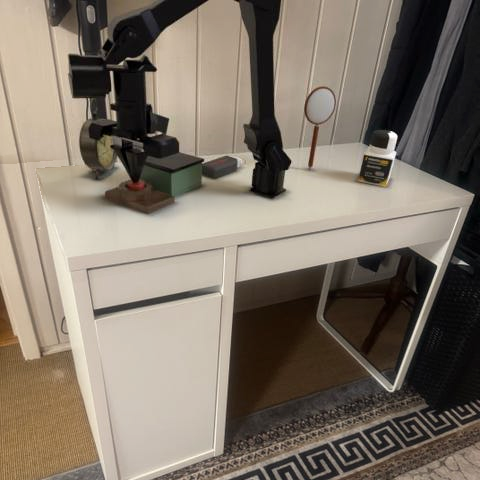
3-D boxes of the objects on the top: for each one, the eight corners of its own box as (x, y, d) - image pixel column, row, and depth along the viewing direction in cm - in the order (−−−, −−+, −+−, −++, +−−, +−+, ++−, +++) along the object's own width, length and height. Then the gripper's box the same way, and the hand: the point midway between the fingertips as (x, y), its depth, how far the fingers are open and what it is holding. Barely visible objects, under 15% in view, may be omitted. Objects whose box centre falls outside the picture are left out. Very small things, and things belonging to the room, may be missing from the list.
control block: (174, 203, 97) (174, 186, 95) (147, 214, 92) (146, 197, 90) (132, 188, 102) (131, 172, 100) (104, 198, 97) (102, 182, 94)
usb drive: (197, 173, 113) (198, 162, 112) (227, 163, 121) (228, 152, 120) (214, 179, 111) (214, 167, 109) (243, 168, 119) (244, 157, 117)
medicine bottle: (357, 181, 117) (368, 132, 110) (362, 173, 123) (373, 126, 116) (385, 187, 116) (399, 137, 109) (389, 179, 121) (402, 131, 114)
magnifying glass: (321, 167, 124) (336, 85, 113) (325, 169, 123) (340, 87, 112) (293, 169, 121) (305, 85, 110) (296, 171, 120) (309, 87, 108)
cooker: (201, 185, 107) (202, 162, 104) (171, 198, 99) (171, 173, 96) (163, 173, 112) (162, 150, 109) (131, 184, 104) (130, 160, 101)
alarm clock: (101, 182, 104) (93, 104, 94) (78, 178, 105) (68, 100, 95) (121, 167, 113) (115, 94, 103) (100, 164, 113) (92, 92, 104)
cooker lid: (204, 161, 103) (204, 158, 103) (173, 172, 96) (173, 169, 96) (162, 150, 109) (162, 147, 108) (130, 160, 101) (130, 157, 101)
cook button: (148, 190, 95) (148, 182, 94) (136, 195, 93) (135, 186, 92) (135, 185, 97) (135, 177, 96) (123, 190, 94) (122, 181, 93)
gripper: (198, 101, 87) (196, 183, 96) (125, 85, 94) (130, 162, 103) (158, 110, 79) (160, 198, 88) (82, 91, 86) (91, 174, 96)
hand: (135, 181), depth 94 cm, fingers closed, pressing on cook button
